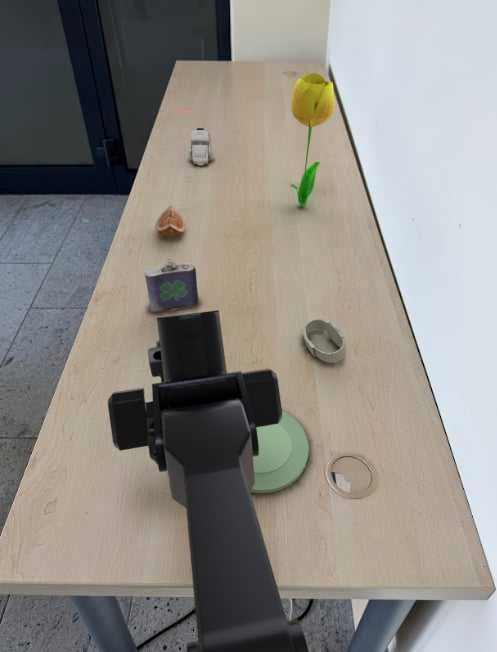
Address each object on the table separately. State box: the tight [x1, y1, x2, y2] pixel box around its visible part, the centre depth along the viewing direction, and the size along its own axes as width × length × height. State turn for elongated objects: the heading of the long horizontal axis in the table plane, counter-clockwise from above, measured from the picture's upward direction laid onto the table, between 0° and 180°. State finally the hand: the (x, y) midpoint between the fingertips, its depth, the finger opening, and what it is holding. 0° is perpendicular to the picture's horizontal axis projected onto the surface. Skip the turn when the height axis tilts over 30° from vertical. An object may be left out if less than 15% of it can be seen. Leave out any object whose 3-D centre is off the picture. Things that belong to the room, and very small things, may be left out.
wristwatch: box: [302, 318, 347, 363], centre depth 84 cm, size 9×6×5 cm
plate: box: [250, 410, 310, 494], centre depth 71 cm, size 14×14×1 cm
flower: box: [290, 72, 336, 209], centre depth 109 cm, size 9×8×30 cm
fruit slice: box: [155, 205, 187, 237], centre depth 109 cm, size 8×7×5 cm
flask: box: [144, 257, 199, 314], centre depth 90 cm, size 9×3×11 cm, turn 105°
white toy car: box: [188, 127, 213, 167], centre depth 133 cm, size 6×7×10 cm
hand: (194, 398), depth 62 cm, fingers closed
